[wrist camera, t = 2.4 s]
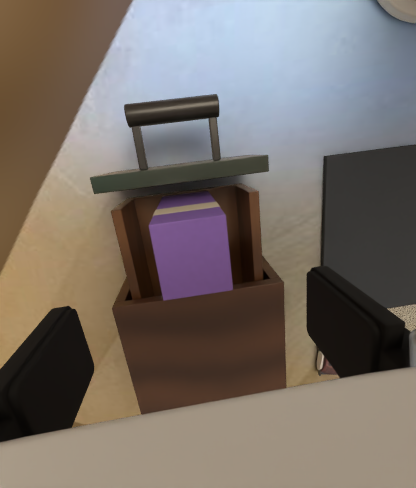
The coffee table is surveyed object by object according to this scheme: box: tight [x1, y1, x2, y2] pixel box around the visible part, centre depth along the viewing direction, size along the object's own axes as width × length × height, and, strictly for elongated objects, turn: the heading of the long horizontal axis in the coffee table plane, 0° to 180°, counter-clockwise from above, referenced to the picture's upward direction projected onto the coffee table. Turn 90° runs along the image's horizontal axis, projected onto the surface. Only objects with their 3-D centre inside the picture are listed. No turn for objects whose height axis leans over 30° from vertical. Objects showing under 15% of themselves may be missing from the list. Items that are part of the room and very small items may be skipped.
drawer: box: [90, 94, 269, 300], centre depth 24 cm, size 19×13×7 cm
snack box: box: [149, 191, 233, 300], centre depth 21 cm, size 5×4×11 cm
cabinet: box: [112, 256, 286, 415], centre depth 28 cm, size 16×14×9 cm
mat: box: [321, 144, 416, 309], centre depth 31 cm, size 20×16×1 cm
